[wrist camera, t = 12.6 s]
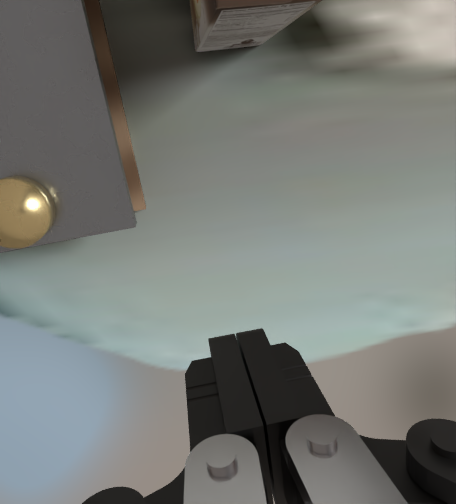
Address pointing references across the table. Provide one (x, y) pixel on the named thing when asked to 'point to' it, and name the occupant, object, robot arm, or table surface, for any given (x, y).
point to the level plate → (55, 130)
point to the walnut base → (115, 102)
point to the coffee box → (241, 21)
